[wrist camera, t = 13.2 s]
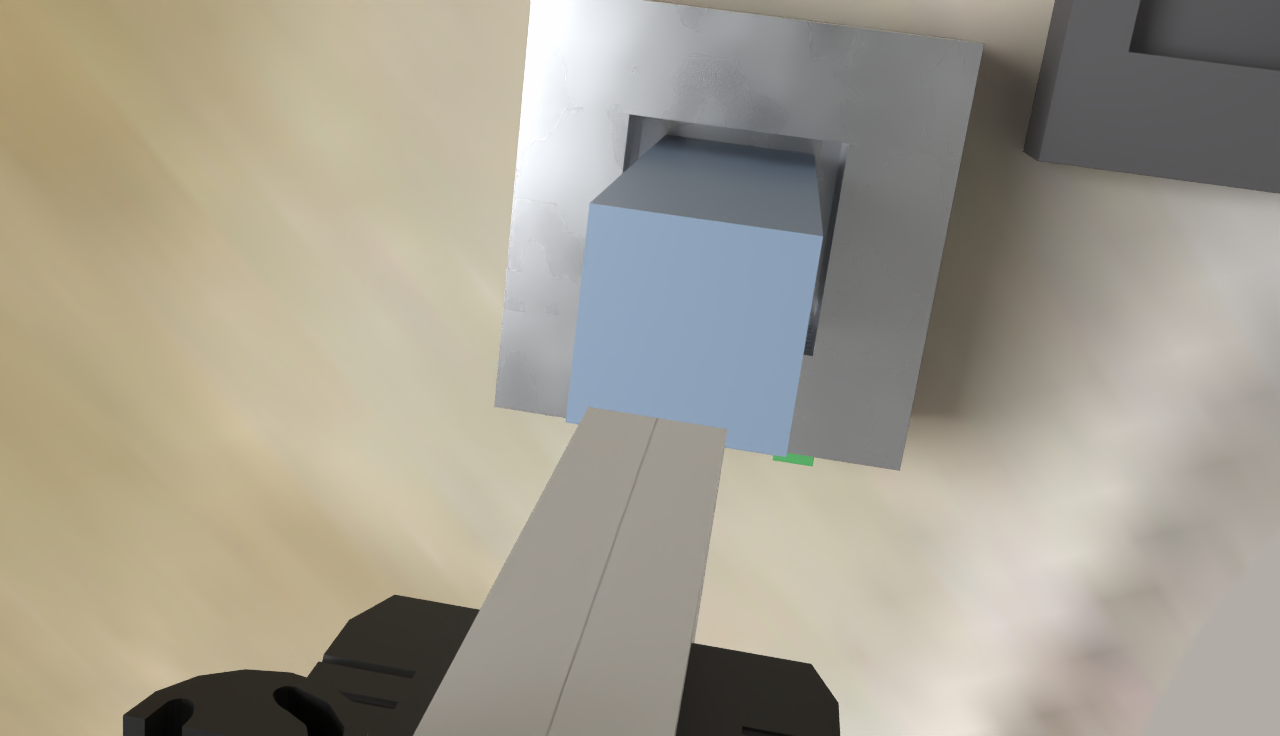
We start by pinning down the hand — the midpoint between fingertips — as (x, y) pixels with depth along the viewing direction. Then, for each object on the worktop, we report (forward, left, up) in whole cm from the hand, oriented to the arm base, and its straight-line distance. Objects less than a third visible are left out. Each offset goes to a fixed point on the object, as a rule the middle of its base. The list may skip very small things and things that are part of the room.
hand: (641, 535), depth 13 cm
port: (+1, 0, -27) cm, 27 cm away
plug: (+1, 0, -25) cm, 25 cm away
